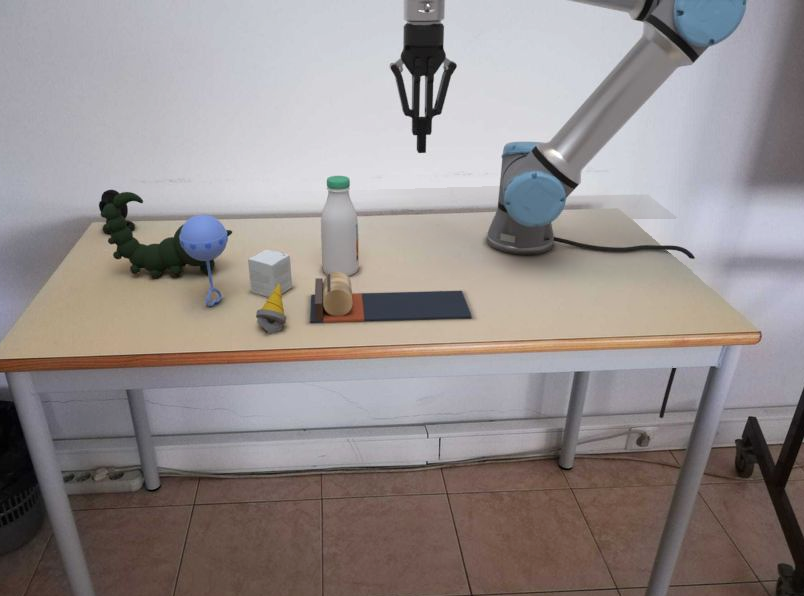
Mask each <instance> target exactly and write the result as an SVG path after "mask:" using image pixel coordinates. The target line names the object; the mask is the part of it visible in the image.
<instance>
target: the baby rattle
mask: <svg viewBox="0 0 804 596" xmlns="http://www.w3.org/2000/svg"><path fill="white" fill-rule="evenodd" d="M183 224H184V225H183ZM183 224H182V225H183V227H182V229H181V233H180V236H179V239H180V244H181V246H182V248H183V249H184V250H185V252H186V253H187V254H188V255H189V256H191V257H192V258H194V259H196V260H200V261H206V264H207V270H208V273H207V275H208V282H209V290H208V292H207V295H206V297H205V304H206V306H207V307H209V308H210V307H211V308H212V307H213V306H214V305H215V304H219V303H220V302H221V300H222V297H223V294H222V292H221V291H220V290H219V289H217V288H216V287H215V286H214V282H213V275H212V272H211V268H210V263H209V260H213V259H214V260H215V259H217V258H218V257H220V256H221V255H222V253H224V251H225V249H226V247H227V244H228V241H229V236H228V235H227V231H226V230H227V229H226V228H225V226H224V225H223V223H222V222H221V221H220V220H219V219H217V218H216V217H214V216H212V215H209V214H197V215H193V216H192V217H190V218H188V219H187V220H186V221H185V222H184V223H183ZM214 292H215V293H217V296H218V297H217V299H213V300H212V301H210V300H211V296H212V294H213V293H214Z"/></svg>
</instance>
